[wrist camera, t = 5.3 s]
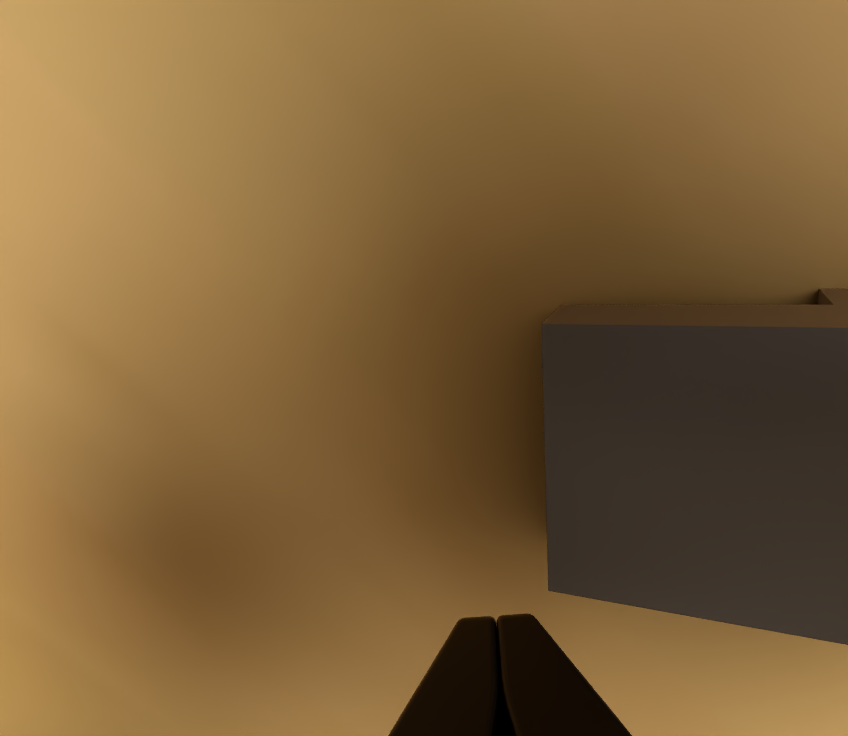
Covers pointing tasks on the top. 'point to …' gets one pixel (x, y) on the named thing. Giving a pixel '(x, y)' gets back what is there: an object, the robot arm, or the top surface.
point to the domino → (701, 461)
